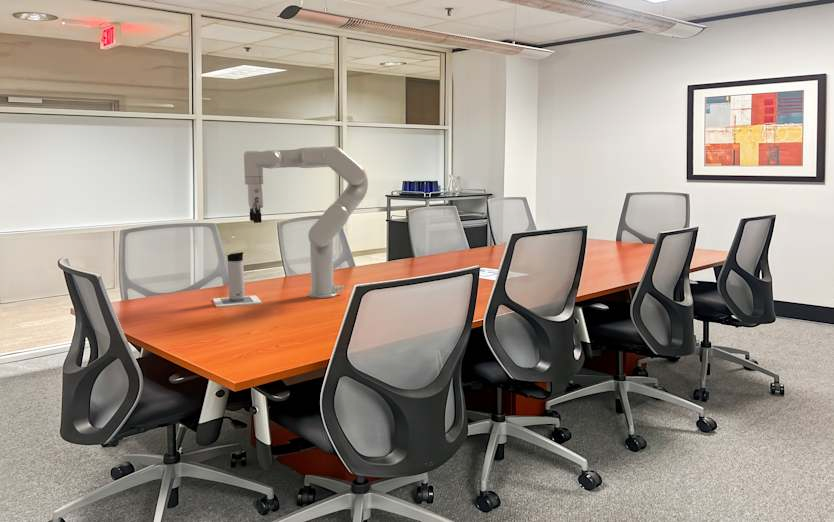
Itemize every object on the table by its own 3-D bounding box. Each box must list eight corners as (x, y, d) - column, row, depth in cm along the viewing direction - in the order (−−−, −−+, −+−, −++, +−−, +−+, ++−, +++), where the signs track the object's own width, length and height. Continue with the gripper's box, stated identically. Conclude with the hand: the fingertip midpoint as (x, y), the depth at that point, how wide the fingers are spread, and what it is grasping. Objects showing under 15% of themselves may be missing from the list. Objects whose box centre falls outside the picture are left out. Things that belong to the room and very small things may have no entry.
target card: (255, 296, 311) (255, 295, 311) (262, 303, 297) (262, 302, 296) (212, 300, 305) (212, 298, 305) (216, 307, 290) (216, 305, 290)
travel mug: (241, 301, 297) (239, 253, 294) (226, 301, 298) (224, 253, 295) (248, 298, 303) (246, 251, 300) (233, 298, 304) (231, 251, 301)
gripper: (266, 181, 297) (268, 223, 299) (259, 179, 313) (261, 219, 315) (248, 181, 294) (249, 223, 297) (242, 180, 310) (243, 220, 313)
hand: (255, 221), depth 306 cm, fingers open, 9 cm apart
